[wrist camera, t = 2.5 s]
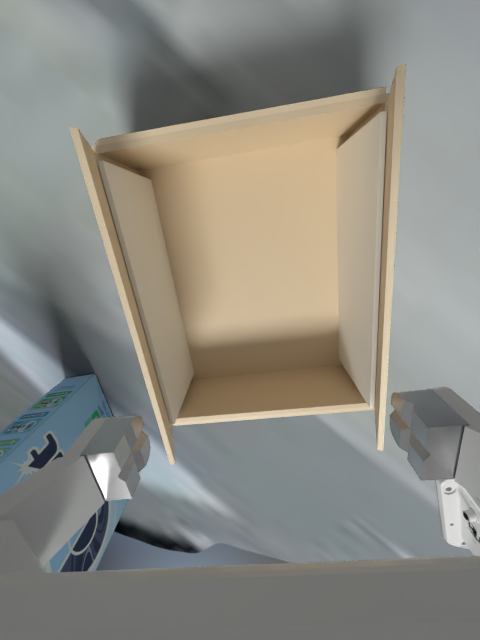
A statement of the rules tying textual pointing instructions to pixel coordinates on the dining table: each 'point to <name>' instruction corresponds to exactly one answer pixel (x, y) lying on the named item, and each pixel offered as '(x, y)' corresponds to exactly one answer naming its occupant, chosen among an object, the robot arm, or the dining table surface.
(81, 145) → the flap
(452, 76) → the dining table surface
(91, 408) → the gum box
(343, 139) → the carton
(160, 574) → the robot arm
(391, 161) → the flap
